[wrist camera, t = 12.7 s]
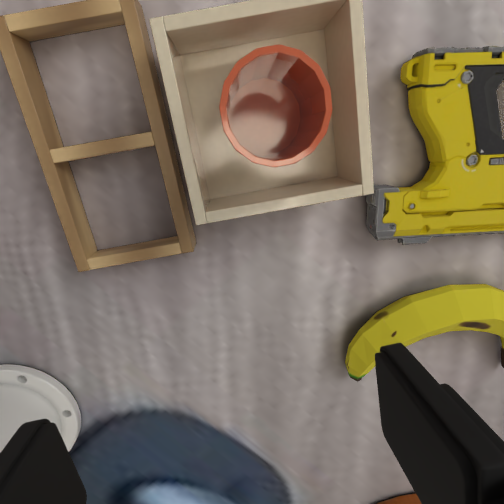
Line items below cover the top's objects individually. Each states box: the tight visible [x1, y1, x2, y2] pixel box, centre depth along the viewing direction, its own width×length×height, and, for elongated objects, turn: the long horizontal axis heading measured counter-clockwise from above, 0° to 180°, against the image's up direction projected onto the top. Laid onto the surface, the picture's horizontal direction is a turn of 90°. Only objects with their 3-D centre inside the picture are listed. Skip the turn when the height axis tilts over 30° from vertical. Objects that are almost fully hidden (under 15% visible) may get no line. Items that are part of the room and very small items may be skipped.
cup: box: [219, 44, 333, 167], centre depth 24 cm, size 6×6×8 cm
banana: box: [345, 284, 504, 381], centre depth 34 cm, size 5×17×15 cm
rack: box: [0, 0, 196, 272], centre depth 27 cm, size 10×19×2 cm, turn 10°
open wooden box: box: [149, 0, 374, 225], centre depth 25 cm, size 13×13×7 cm
